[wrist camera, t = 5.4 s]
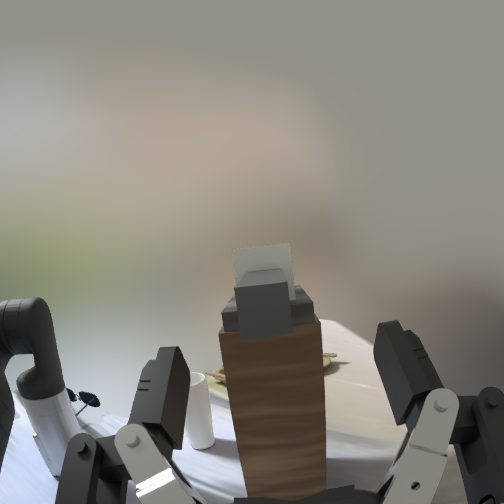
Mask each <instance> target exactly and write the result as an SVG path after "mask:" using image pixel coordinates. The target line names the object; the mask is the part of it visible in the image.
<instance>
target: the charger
mask: <svg viewBox="0 0 504 504" xmlns="http://www.w3.org/2000/svg"><path fill="white" fill-rule="evenodd" d="M232 254H233V262H234V270H235V279H236V286H235V287H234V290H235V299H236V306H237V314H238V322H239V330H240V337H241V339H243V338H253V337H263V336H273V335H282V334H290V333H293V330H292V320H291V309H290V300H296V298H295V288H294V279H293V269H292V260H291V251H290V243H283V244H275V245H266V246H259V247H249V248H241V249H233V250H232Z"/></svg>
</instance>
